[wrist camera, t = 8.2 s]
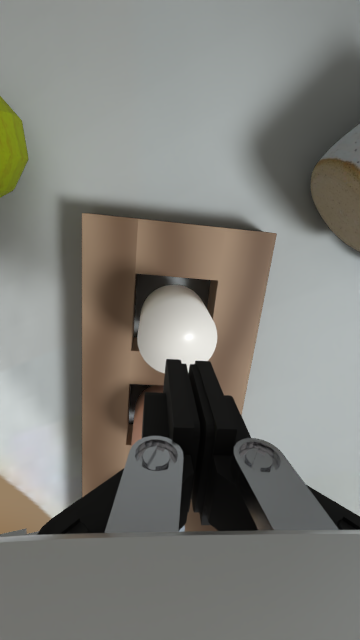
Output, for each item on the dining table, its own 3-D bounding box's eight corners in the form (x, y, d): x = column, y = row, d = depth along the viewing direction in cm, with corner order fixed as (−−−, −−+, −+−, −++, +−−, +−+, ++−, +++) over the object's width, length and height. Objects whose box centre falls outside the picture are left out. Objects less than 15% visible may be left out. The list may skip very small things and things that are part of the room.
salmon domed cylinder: (193, 385, 24) (201, 417, 20) (187, 431, 25) (193, 470, 21) (136, 382, 23) (133, 414, 19) (133, 430, 24) (129, 469, 21)
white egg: (209, 287, 20) (222, 304, 16) (201, 348, 21) (211, 376, 18) (142, 281, 19) (139, 297, 16) (138, 344, 21) (135, 373, 17)
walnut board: (263, 231, 22) (276, 233, 19) (210, 521, 30) (215, 547, 28) (90, 213, 20) (81, 213, 18) (88, 521, 29) (82, 548, 27)
